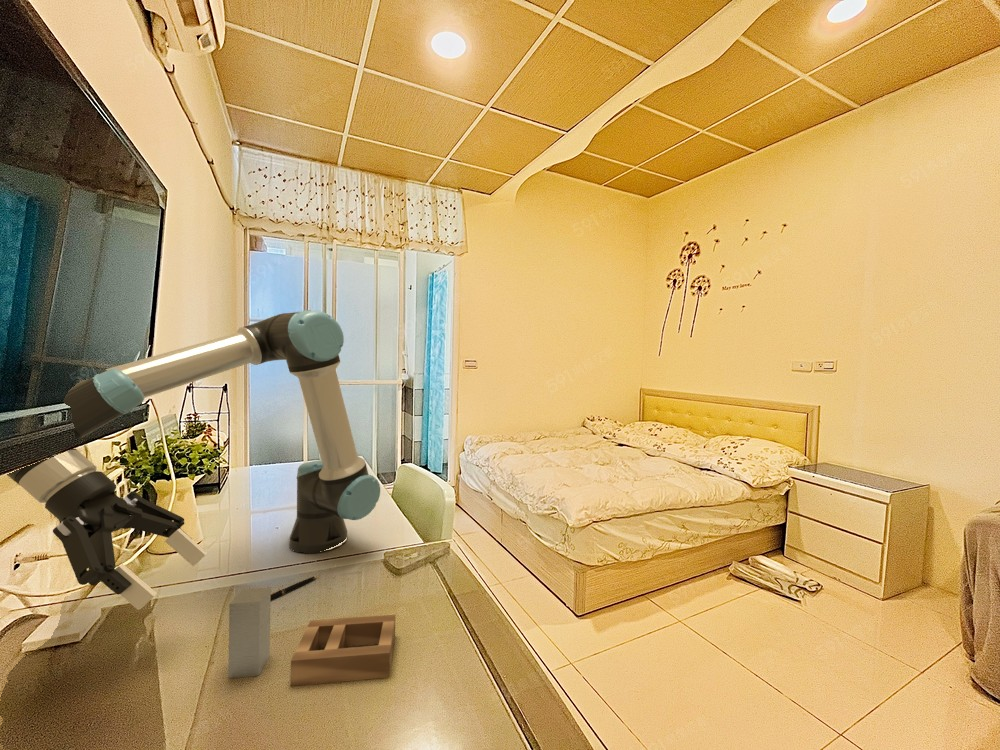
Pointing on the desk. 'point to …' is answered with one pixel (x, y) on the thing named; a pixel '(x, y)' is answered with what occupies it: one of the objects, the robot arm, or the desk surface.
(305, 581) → the fountain pen
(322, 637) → the wooden slotted frame
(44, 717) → the desk surface
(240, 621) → the grey tall rectangular block
